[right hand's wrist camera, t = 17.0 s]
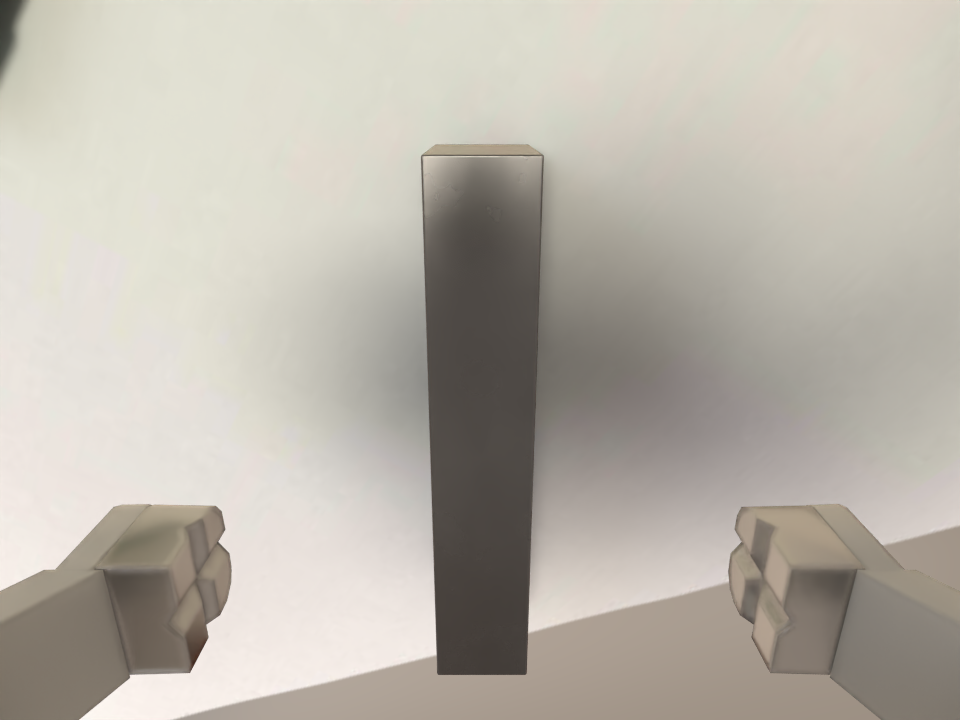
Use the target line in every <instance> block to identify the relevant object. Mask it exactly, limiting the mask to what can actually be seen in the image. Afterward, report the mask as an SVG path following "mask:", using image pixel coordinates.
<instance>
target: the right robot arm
mask: <svg viewBox="0 0 960 720" xmlns="http://www.w3.org/2000/svg"><path fill="white" fill-rule="evenodd" d="M224 531H225V525H224V521H223V516H222V511H221V510H220V509H219V508H217V507H216V506H196V505H150V504H135V505H119V506H116V507H113V508H112V509H111V510H110V512H109V513H108V514H107V515H106V516H105V517H104V518H103V519H102V520H101V521H100V522H99V523H98V524H97V525H96V527H95V528H94V529H93V530H92V531H91V532H90V533H89V534H88V535H87V536H86V537H85V538H84V539H83V540H82V542H81V543H80V544H79V545H78V546H77V547H76V548H75V549H74V550H73V551H72V552H71V553H70V554H69V555H68V557H67V558H66V559H65V560H64V561H63V562H62V563H61V564H60V565H59V566H58V567H57V568H56V569H55V570H43V571H41V572H39V573H37V574H35V575H33V576H31V577H29V578H26V579H24V580H22V581H20V582H18V583H16V584H14V585H12V586H10V587H8V588H6V589H4V590H2V591H0V720H79V719H80V718H82V717H83V716H84V715H85V714H86V713H88V712H89V711H90V710H91V709H93V708H94V707H95V706H96V705H97V704H99V703H100V702H101V701H102V700H104V699H105V698H106V697H107V696H108V695H110V694H111V693H112V692H113V691H114V690H116V689H117V688H118V687H119V686H121V685H122V684H123V683H124V682H125V681H127V680H128V679H129V678H130V675H135V674H170V673H190V672H191V670H192V668H193V666H194V664H195V662H196V660H197V658H198V656H199V655H200V653H201V651H202V649H203V647H204V645H205V643H206V641H207V639H208V632H207V627H206V624H208V623H209V622H211V621H212V620H214V619H215V618H216V617H218V616H219V615H220V614H221V612H222V610H223V608H224V606H225V604H226V602H227V598H228V594H229V589H230V585H231V561H230V554H229V553H228V552H227V551H226V549H225V548H224V547H223V546H222V545H221V544H220V543H219V542H218V541H219V539H220V538H221V536H222V534H223V533H224ZM735 531H736V533H737V534H738V536H739V538H740V539H741V541H742V542H741V543H740V544H739V545H738V546H737V547H736V548H735V549H734V551H733V552H732V553H731V555H730V562H729V570H728V573H729V584H730V591H731V594H732V598H733V601H734V604H735V606H736V608H737V610H738V612H739V614H740V615H741V616H742V617H744V618H745V619H746V620H748V621H749V622H751V623H752V624H754V627H753V632H752V639H753V641H754V643H755V645H756V647H757V649H758V651H759V653H760V654H761V656H762V658H763V660H764V662H765V664H766V666H767V668H768V670H769V672H770V673H788V674H789V673H790V674H824V675H830V678H831V679H832V680H834V681H835V682H836V683H837V684H839V685H840V686H841V687H842V688H843V689H845V690H846V691H847V692H848V693H849V694H851V695H852V696H853V697H854V698H856V699H857V700H858V701H859V702H860V703H862V704H863V705H864V706H865V707H867V708H868V709H869V710H870V711H871V712H873V713H874V714H875V715H876V716H877V717H879V718H880V719H881V720H960V591H958V590H956V589H954V588H952V587H950V586H948V585H946V584H944V583H942V582H940V581H938V580H936V579H933V578H931V577H929V576H927V575H925V574H923V573H921V572H919V571H917V570H905V569H904V568H903V567H902V566H901V565H900V564H899V563H898V562H897V561H896V560H895V559H894V558H893V556H892V555H891V554H890V553H889V552H888V551H887V550H886V549H885V548H884V547H883V546H882V545H881V544H880V543H879V541H878V540H877V539H876V538H875V537H874V536H873V535H872V534H871V533H870V532H869V531H868V530H867V529H866V528H865V526H864V525H863V524H862V523H861V522H860V521H859V520H858V519H857V518H856V517H855V516H854V515H853V514H852V513H851V511H850V510H849V509H848V508H846V507H844V506H842V505H840V504H825V505H806V506H762V507H741V509H740V511H739V513H738V515H737V519H736V525H735Z"/></svg>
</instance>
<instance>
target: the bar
mask: <svg viewBox="0 0 960 720" xmlns="http://www.w3.org/2000/svg"><path fill="white" fill-rule="evenodd" d="M543 162H544V156H543V155H542V154H541V153H539V152H538V151H537V150H535V149H534V148H532V147H531V146H530V145H434V146H433V147H432V148H430V149H429V150H428V151H427V152H425V153H424V154H423V155H422V156H421V170H422V202H423V234H424V265H425V297H426V329H427V361H428V392H429V424H430V456H431V488H432V520H433V551H434V583H435V615H436V647H437V673H438V675H525V674H526V673H527V644H528V614H529V584H530V554H531V524H532V493H533V463H534V433H535V403H536V373H537V343H538V313H539V282H540V252H541V222H542V192H543Z"/></svg>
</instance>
